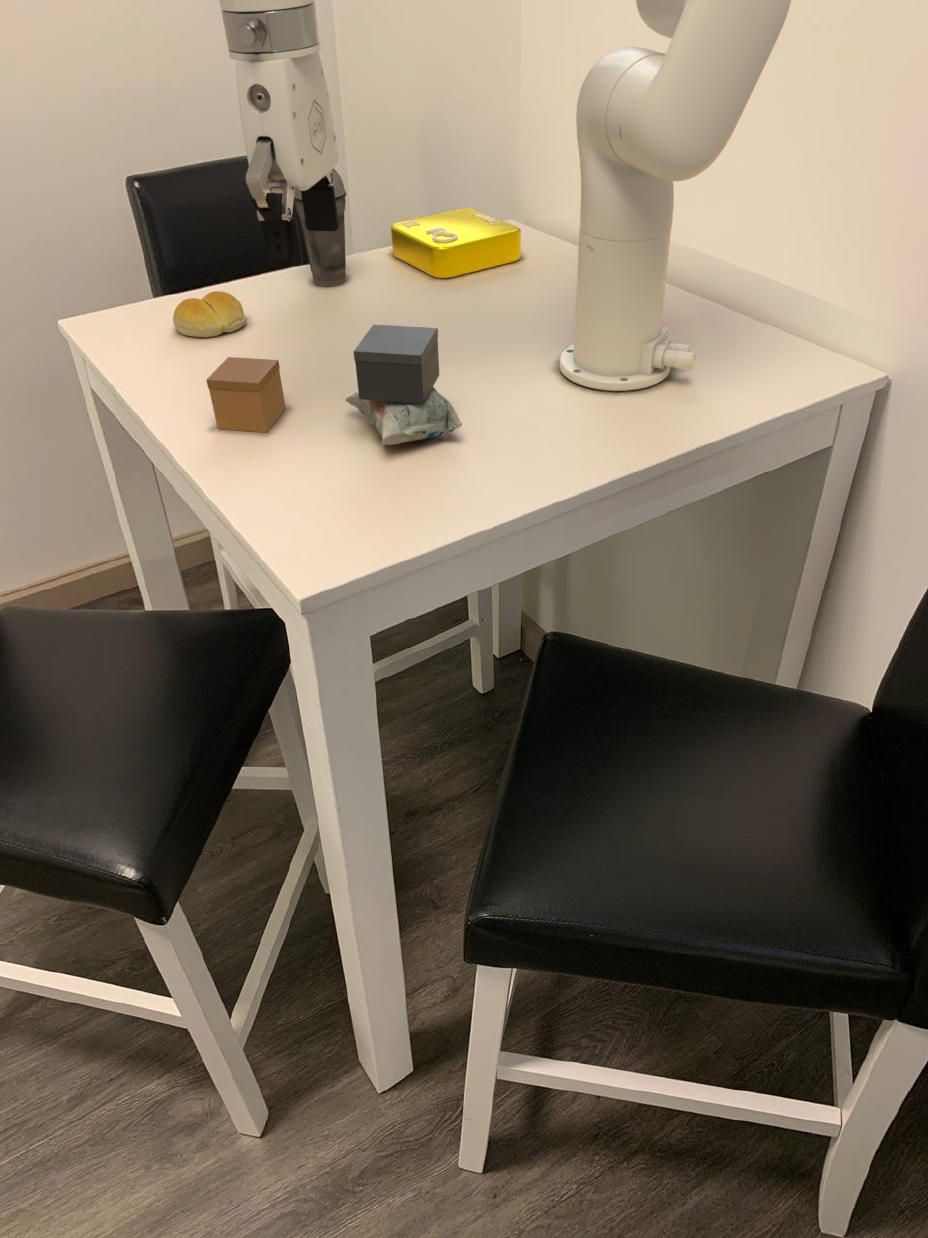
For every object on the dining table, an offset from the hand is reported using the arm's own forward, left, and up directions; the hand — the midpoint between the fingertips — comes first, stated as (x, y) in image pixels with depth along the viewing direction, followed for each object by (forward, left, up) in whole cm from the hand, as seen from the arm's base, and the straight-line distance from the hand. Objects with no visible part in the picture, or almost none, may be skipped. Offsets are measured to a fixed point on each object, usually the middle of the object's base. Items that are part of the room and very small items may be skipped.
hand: (305, 246), depth 87 cm
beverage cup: (+24, -37, -18) cm, 48 cm away
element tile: (+12, -53, -18) cm, 57 cm away
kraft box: (+8, +2, -18) cm, 20 cm away
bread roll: (+29, -17, -19) cm, 38 cm away
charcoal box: (-8, -2, -13) cm, 16 cm away
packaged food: (-8, -2, -19) cm, 20 cm away
